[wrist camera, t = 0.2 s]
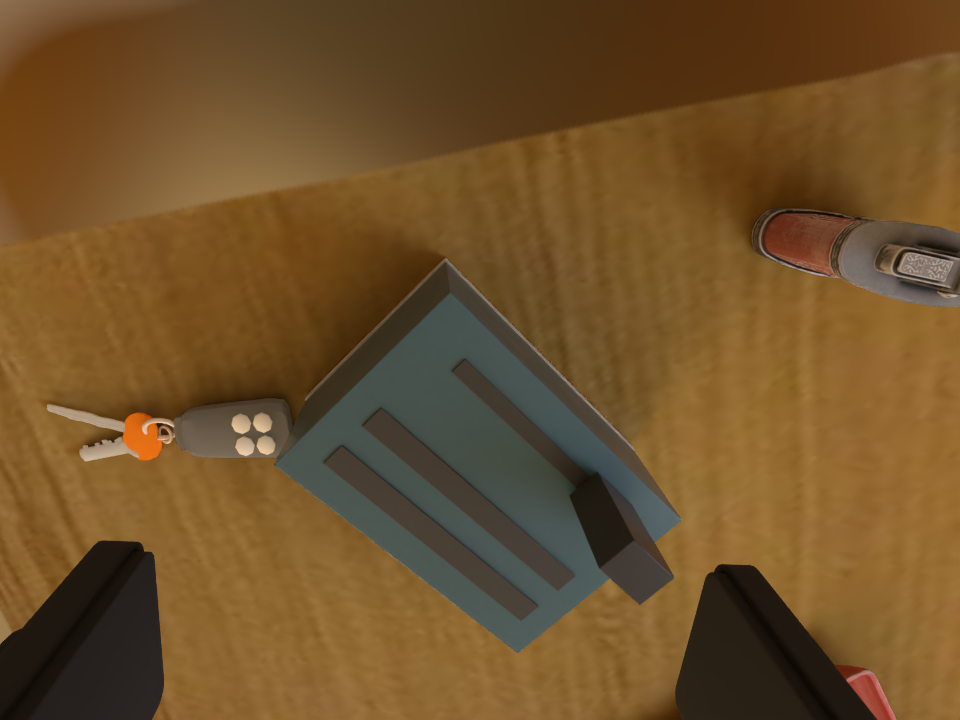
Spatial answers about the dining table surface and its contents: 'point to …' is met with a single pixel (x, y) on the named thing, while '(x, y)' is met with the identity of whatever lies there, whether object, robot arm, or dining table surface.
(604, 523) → the slider
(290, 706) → the dining table surface
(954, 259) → the lighter
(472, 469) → the toaster
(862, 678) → the plant saucer
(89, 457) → the key chain
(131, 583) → the robot arm
